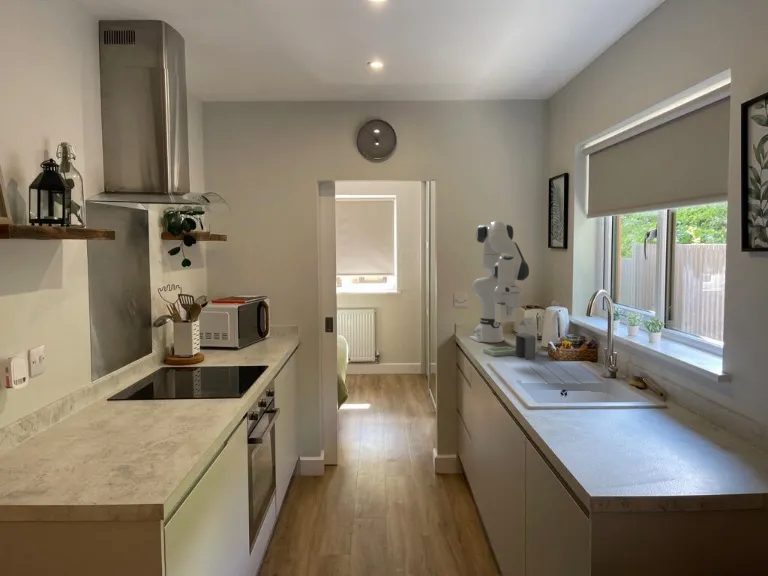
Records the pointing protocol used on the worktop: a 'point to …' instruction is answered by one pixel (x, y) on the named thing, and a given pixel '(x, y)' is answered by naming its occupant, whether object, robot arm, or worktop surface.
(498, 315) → the cream box grey panel
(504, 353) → the tray
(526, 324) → the milk carton
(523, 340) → the open-top grey box
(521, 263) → the robot arm
